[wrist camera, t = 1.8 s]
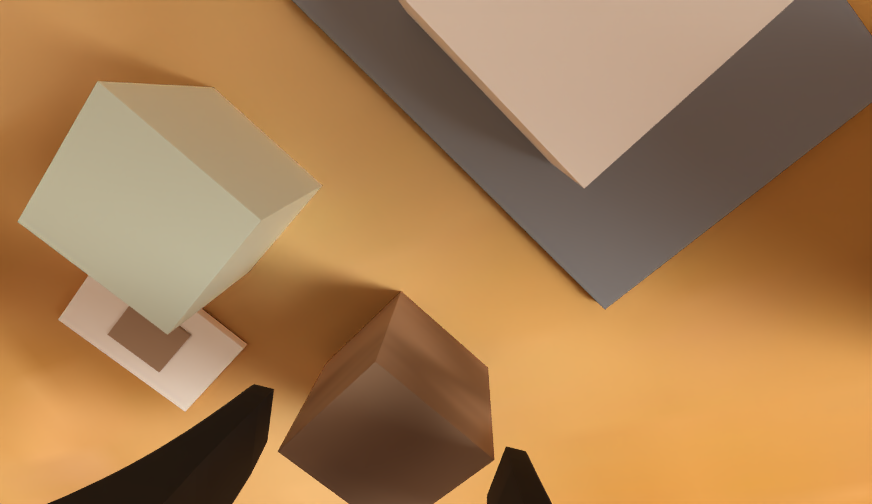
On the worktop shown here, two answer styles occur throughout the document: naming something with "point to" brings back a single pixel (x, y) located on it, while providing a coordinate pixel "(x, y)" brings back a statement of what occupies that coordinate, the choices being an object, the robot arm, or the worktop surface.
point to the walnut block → (395, 413)
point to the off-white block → (589, 63)
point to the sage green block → (165, 196)
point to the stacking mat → (647, 158)
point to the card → (153, 343)
